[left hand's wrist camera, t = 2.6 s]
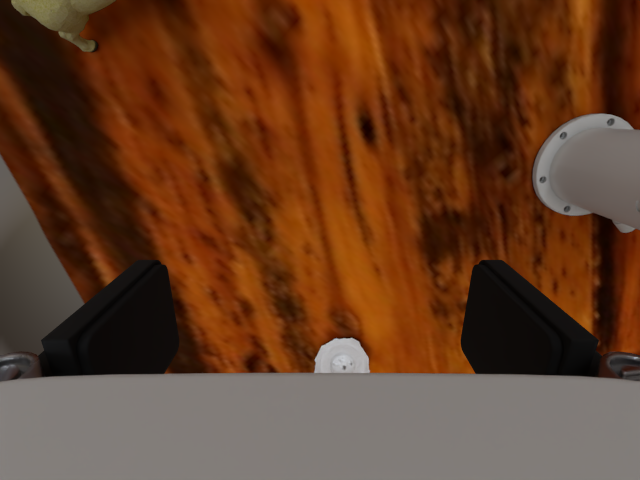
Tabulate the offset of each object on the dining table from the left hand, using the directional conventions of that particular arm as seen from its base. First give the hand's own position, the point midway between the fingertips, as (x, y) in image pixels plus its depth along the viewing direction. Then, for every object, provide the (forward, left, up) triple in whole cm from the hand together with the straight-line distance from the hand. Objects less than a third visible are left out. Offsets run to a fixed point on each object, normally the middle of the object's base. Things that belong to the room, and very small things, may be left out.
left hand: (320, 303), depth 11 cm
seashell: (-23, +20, -36) cm, 47 cm away
